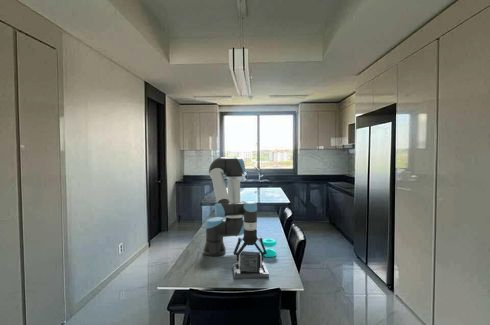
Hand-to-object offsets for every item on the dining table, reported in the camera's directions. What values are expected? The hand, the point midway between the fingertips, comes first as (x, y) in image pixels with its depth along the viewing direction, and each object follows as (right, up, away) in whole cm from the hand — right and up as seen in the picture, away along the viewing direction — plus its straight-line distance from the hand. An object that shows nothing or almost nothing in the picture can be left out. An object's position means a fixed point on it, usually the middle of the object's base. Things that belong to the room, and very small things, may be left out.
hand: (250, 266), depth 185 cm
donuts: (+13, -2, +30) cm, 32 cm away
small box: (0, -3, 0) cm, 3 cm away
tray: (0, -4, 0) cm, 4 cm away
